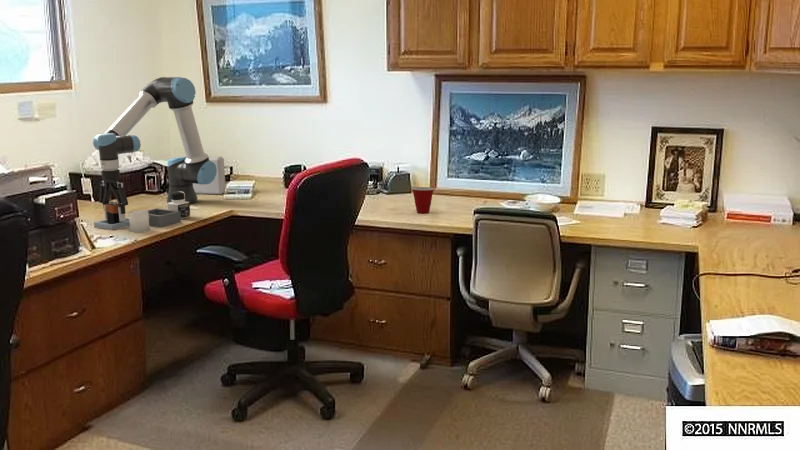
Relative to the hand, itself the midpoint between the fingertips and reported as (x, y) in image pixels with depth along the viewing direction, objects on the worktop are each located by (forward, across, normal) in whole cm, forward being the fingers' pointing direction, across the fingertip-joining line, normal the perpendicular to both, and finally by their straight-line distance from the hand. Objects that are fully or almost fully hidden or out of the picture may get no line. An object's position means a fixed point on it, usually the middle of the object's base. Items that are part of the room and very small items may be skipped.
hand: (115, 219), depth 335 cm
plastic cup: (+3, +106, +89) cm, 138 cm away
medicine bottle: (+3, +12, +26) cm, 29 cm away
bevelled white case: (+3, -23, +78) cm, 81 cm away
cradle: (+3, +13, +13) cm, 19 cm away
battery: (+2, 0, 0) cm, 2 cm away
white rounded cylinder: (+3, +17, -1) cm, 17 cm away
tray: (+3, 0, 0) cm, 3 cm away
